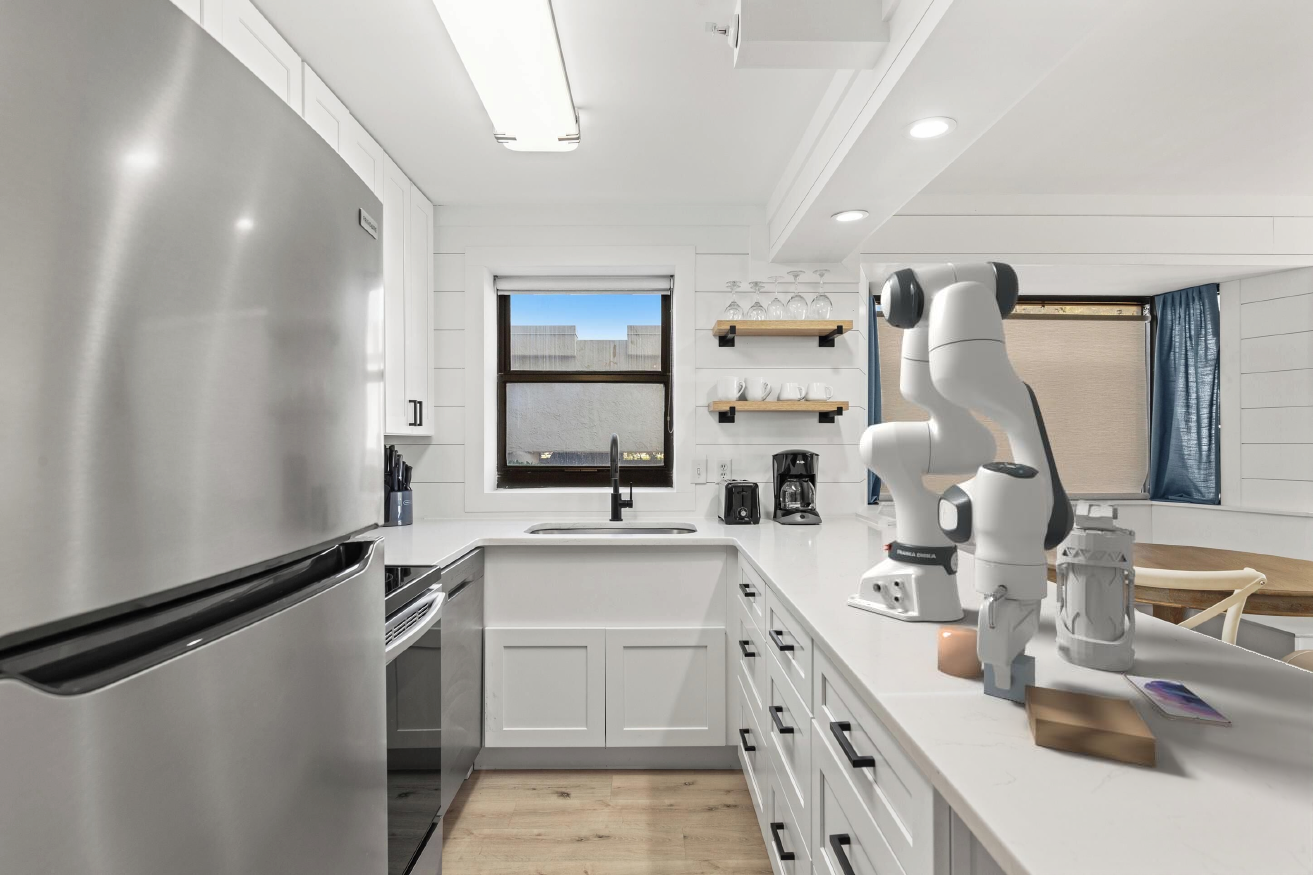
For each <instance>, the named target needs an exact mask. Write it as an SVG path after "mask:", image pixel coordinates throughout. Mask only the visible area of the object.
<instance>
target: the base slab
mask: <svg viewBox="0 0 1313 875" xmlns="http://www.w3.org/2000/svg"><path fill="white" fill-rule="evenodd" d="M1024 706H1025V712H1026V714H1027V715H1026V716H1027V720H1028V722H1029V725H1030V729H1031V733H1032V738H1033V739H1034V744H1035V745H1036V746H1041V747H1047V748H1053V749H1057V748H1058V749H1057V750H1063V751H1066V752H1067V751H1068V752H1073V753H1079V754H1085V755H1090V756H1095V757H1100V758H1106V759H1112V760H1117V761H1122V762H1128V763H1131V764H1132V763H1133V764H1137V765H1143V766H1149V767H1153V768H1155V767H1156V737H1155V736H1154V734H1153V733H1152V732H1151V731H1150V729H1149V727H1148V726H1147V724H1146V723H1145V722H1144V720H1143V718H1142V717H1141V715H1140V714H1139V712H1138V711H1137V710H1136V709H1135V707H1134V705H1133V704H1132V702H1131V701H1130V700H1129V699H1121V698H1113V697H1109V696H1101V695H1096V694H1095V695H1094V694H1088V693H1082V692H1075V691H1068V690H1062V689H1055V688H1049V687H1041V686H1036V685H1035V686H1030V685H1025V704H1024Z"/></svg>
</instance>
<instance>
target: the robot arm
mask: <svg viewBox="0 0 1313 875" xmlns="http://www.w3.org/2000/svg"><path fill="white" fill-rule="evenodd" d="M885 279H886V280H885V282H884V285H883V287H882V290H881V294H880V307H881V311H882V313H883V316H884V319H885V322H886V323H887V324H889V325H890V326H892V327H894V328H897V329H904V330H903V337H902V343H901V355H900V356H901V357H900V379H899V391H900V393H901V395H902V397H903V398H904V399H905V400H906V401H907V402H909V403H910V404H912V405H913V406H915V407H918V408H921V409H922V410H925V411H927V412H928V413H929V414H930V420H926V421H890V422H884V423H883V422H882V423H877V424H872V425H869V426H868V427H867V428H866V430H865V431H864V432H863V433H862V436H861V438H860V441H859V446H858V447H859V450H858V451H859V456H860V458H861V461H862V463H863V464H864V465H865V467H866V468H867V469H868V470H870V471H871V472H872V473H874V474H875V475H876V476H877V477H878V478H879V479H880V480H881V481H882V482H883V484H885V486H886V487H887V490H888V491H889V492H890V495H891V497H892V498H891V499H892V501H893V506H894V512H895V523H896V524H895V526H896V527H895V529H896V539H895V540H894V541H891V542H889V543H888V544H885V545H884V547H885V548H884V551H887V553H888V554H887V557H886V558H884V559H883V560H882V561H880V562H879V563H877V564H876V565H874V566H872V567H871V568H870V569H869V570H867V571H865V572H864V573H863V574H862V575H861V578H860V582H859V584H858V589H857V591H858V592H856V593H853V594H852V595H849V596H848V598H847V599H846V603H847V606H851V607H855V608H858V609H861V610H865V611H869V612H873V613H876V614H880V615H883V616H887V617H891V618H895V619H898V620H901V621H905V622H906V621H907V622H919V621H920V622H921V621H926V622H930V621H931V622H948V621H949V622H950V621H958V620H961V619H962V618H964V617H965V614H964V611H963V608H962V603H961V599H960V594H959V587H958V580H957V573H958V568H959V553H958V552H959V551H958V545H957V544H959V545H962V546H966V547H975V550H974V556H973V566H974V567H973V589H974V590H975V591H976V592H978V593H981V594H982V595H983V601H982V603H981V604H980V606H979V611H978V619H977V622H978V623H977V631H978V634H977V655H978V658H979V660H980V661H981V662H982V663H983V664H984V663H988V664H992V665H993V669H994V672H995V685H996V687H998V688H1001V689H1005V690H1009V689H1010V687H1011V686H1012V674H1011V664H1012V661H1013V660H1014V659H1015V657H1016V656H1017V655H1018V654H1024V655H1026V654H1025V653H1026V648H1027V645H1028V644H1029V642H1030V641H1031V640H1032V639H1033V637H1034V636H1035V635H1036V634H1037V633H1038V629H1039V626H1040V617H1041V611H1042V610H1041V609H1042V600H1044V599H1046V598H1047V597H1048V557H1047V553H1046V551H1051V550H1054V549H1055V548H1057V546H1058V545H1059V544H1061V543H1062V542H1063V541H1064V540H1065V539H1066V538H1067V536H1068V535H1069V534H1070V532H1071V531H1072V529H1073V526H1074V523H1075V516H1074V507H1073V506H1072V504H1071V501H1070V499H1069V496H1068V495H1067V494H1068V493H1067V492H1066V490H1065V488H1064V485H1063V483H1062V480H1061V478H1060V476H1059V472H1058V468H1057V465H1056V462H1055V458H1054V454H1053V449H1052V446H1051V442H1050V439H1049V435H1048V432H1047V428H1046V426H1045V425H1046V424H1045V420H1044V418H1043V415H1042V411H1041V407H1040V404H1039V402H1038V399H1037V397H1036V395H1035V391H1034V390H1033V388H1032V387H1031V386H1030V384H1028V383H1027V382H1025V381H1024V380H1022V379H1021V378H1020V377H1019V376H1018V373H1016V370H1014V368H1013V366H1012V364H1011V361H1010V358H1009V355H1008V353H1007V345H1006V336H1005V328H1004V323H1003V320H1005V319H1007V317H1009V315H1011V314H1012V313H1013V312H1014V310H1015V308H1016V306H1017V304H1018V303H1017V302H1018V299H1019V298H1018V297H1019V291H1020V290H1019V289H1020V287H1019V278H1018V276H1017V273H1016V271H1015V269H1014V268H1013V267H1012V266H1011V265H1010V264H1007V263H1005V262H998V261H990V260H989V261H987V262H985V263H984V262H967V261H966V262H965V261H964V262H948V263H947V264H938V265H937V264H936V265H929V266H924V267H918V268H914V269H912V268H911V267H909V268H903V269H900V270H897V271H893V272H892V273H891V274H890V275H888V277H887V278H885ZM971 411H972V412H974V413H976V414H977V413H978V414H979V415H982V416H984V417H985V418H986V417H987V418H989V419H990V420H991V421H993V422H995V423H996V424H997V425H999V427H1001V428H1002V430H1003V431H1004V432H1005V434H1006V436H1007V438H1008V442H1009V446H1010V449H1011V454H1012V458H1013V461H1014V462H1007V461H995V459H996V456H997V451H998V449H997V447H998V445H997V440H996V438H995V436H994V434H993V433H992V431H991V430H990V429H989V428H988V427H987V426H986V425H984V423H982V422H980V421H979V420H978V419H976V418H975V416H974V415H973V414H972V413H971ZM973 474H975V476H974V477H972V478H971V479H969V480H967V481H963V482H960V483H957V484H952V485H950V486H949V487H948V488H947V489H946V490H944V492H943V493H942V494H939V493H937V492H935V491H933V490H931V489H928V488H927V487H925V485H924V482H923V477H924V476H966V475H973Z"/></svg>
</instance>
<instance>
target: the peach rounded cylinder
mask: <svg viewBox="0 0 1313 875" xmlns="http://www.w3.org/2000/svg"><path fill="white" fill-rule="evenodd" d="M977 634H978V629H974V628H971V627H968V626H967V627H966V626H961V625H940V626H939V627H938V628H937V669H938V671H939V672H941V673H943V674H945V675H948V676H951V677H956V678H961V679H962V678H963V679H977V678H980V677H982V674H983V671H982V669H983V662H981V661H980V660H979V658H978V655H977Z"/></svg>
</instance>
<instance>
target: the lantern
mask: <svg viewBox="0 0 1313 875" xmlns="http://www.w3.org/2000/svg"><path fill="white" fill-rule="evenodd" d="M1090 502H1093V500H1090V499H1089V500H1088V499H1087V500H1086V499H1079V500H1078V501H1077V502H1076V505H1074V507H1073V512H1074V518H1075V522H1074V526H1073V529H1072V531H1071V532H1070V534H1069V535H1068V536H1067V538H1066V539H1065V540H1064V541H1063V542H1062V543H1061V544H1059V545H1058V546H1057V547H1056V561H1055V569H1056V571H1055V572H1056V573H1055V574H1056V604H1055V629H1056V633H1057V636H1056V637H1055V646H1056V651H1057V654H1058V656H1059V658H1061V659H1062V660H1064V661H1066V662H1068V663H1071V664H1073V665H1077V666H1080V667H1084V668H1089V669H1093V670H1099V671H1109V672H1123V671H1129V670H1130V669H1132V666H1133V663H1134V661H1135V657H1136V656H1135V654H1136V650H1135V649H1134V648H1133V644H1134V641H1135V636H1136V614H1135V582H1136V580H1135V578H1136V570H1135V569H1134V541H1136V532H1135V530H1132V529H1128V528H1123V527H1117V526H1116V525H1115V524H1114V522H1113V520H1118V519H1119V516H1118V515H1119V514H1118V513H1119V512H1118V511H1119V509H1118V507H1115V503H1114V501H1108V500H1107V501H1106V500H1105V501H1104V500H1095V502H1102V503H1090ZM1126 572H1127V573H1126ZM1063 575H1064V577H1063ZM1063 579H1064V580H1063ZM1126 581H1127V582H1128V583H1127V584H1126ZM1063 582H1064V588H1063ZM1126 585H1127V587H1126ZM1126 590H1127V591H1126ZM1126 592H1127V594H1126ZM1126 595H1127V596H1126ZM1063 610H1064V622H1063V619H1062V617H1061V615H1062V612H1063ZM1126 617H1127V620H1128V623H1129V625H1128V628H1127V629H1126V632H1125V623H1126Z"/></svg>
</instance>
